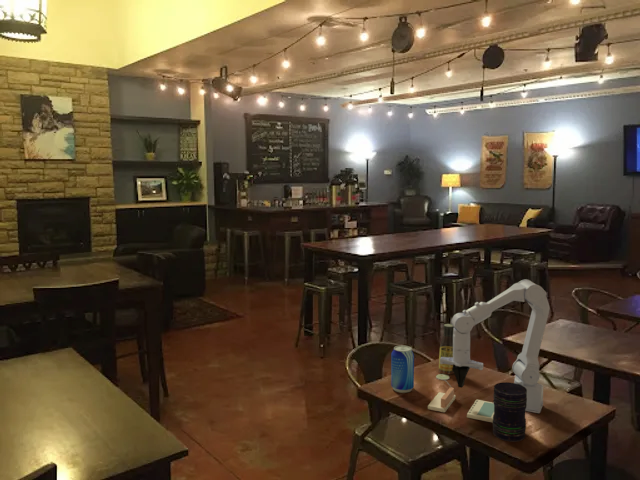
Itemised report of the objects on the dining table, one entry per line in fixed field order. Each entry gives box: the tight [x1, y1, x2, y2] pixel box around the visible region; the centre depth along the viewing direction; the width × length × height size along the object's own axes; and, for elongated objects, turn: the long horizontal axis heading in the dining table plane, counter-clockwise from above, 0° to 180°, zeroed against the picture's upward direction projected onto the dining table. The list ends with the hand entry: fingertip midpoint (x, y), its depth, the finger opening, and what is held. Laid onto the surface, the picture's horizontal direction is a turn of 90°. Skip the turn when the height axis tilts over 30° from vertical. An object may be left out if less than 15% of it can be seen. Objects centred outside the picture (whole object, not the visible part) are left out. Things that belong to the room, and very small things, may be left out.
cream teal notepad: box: [466, 399, 494, 424], centre depth 190 cm, size 9×13×1 cm
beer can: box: [390, 345, 415, 394], centre depth 210 cm, size 8×8×16 cm
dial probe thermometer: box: [435, 373, 451, 386], centre depth 216 cm, size 5×1×15 cm
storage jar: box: [492, 381, 527, 443], centre depth 174 cm, size 10×10×15 cm
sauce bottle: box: [438, 323, 454, 376], centre depth 225 cm, size 6×6×20 cm
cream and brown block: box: [427, 386, 456, 413], centre depth 197 cm, size 6×13×4 cm, turn 151°
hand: (460, 386), depth 193 cm, fingers closed
